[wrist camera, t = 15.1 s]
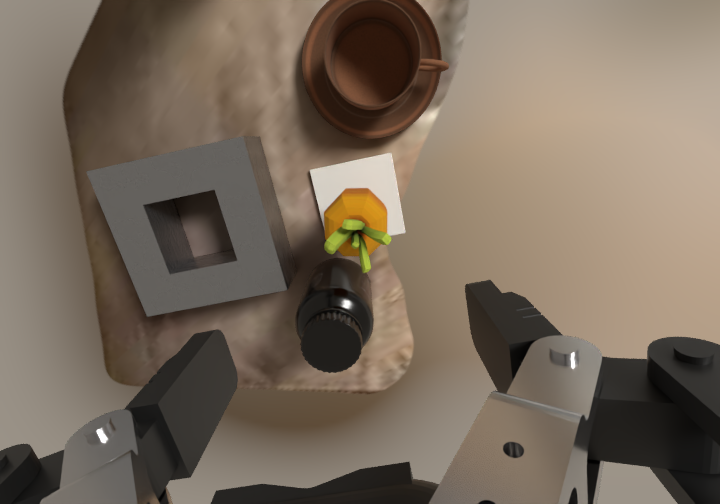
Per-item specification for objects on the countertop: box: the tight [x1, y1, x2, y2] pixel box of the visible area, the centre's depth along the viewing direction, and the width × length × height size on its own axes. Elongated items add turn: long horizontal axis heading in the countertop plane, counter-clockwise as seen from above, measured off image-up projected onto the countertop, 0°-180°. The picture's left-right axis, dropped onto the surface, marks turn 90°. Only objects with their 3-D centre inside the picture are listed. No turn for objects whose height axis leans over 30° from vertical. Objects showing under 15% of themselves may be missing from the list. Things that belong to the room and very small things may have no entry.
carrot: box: [324, 188, 392, 273], centre depth 29 cm, size 5×5×15 cm
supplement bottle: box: [295, 258, 374, 373], centre depth 34 cm, size 7×7×12 cm
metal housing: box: [86, 136, 297, 317], centre depth 35 cm, size 14×14×5 cm
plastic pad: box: [310, 153, 406, 236], centre depth 36 cm, size 8×8×1 cm
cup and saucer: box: [302, 0, 449, 139], centre depth 30 cm, size 12×12×6 cm
